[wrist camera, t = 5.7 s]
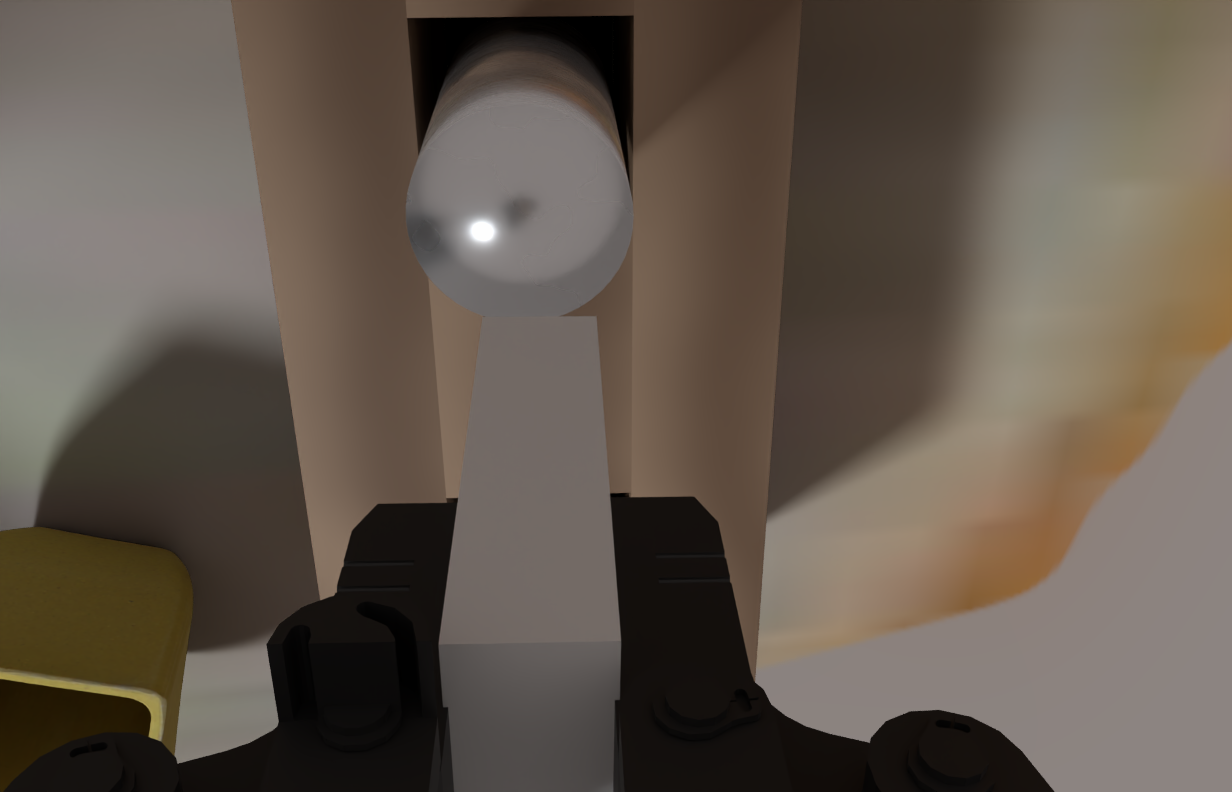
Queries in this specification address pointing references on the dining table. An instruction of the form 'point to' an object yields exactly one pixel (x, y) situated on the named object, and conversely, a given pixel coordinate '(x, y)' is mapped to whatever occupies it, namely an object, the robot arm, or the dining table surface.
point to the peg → (521, 174)
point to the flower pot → (87, 641)
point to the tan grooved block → (626, 315)
